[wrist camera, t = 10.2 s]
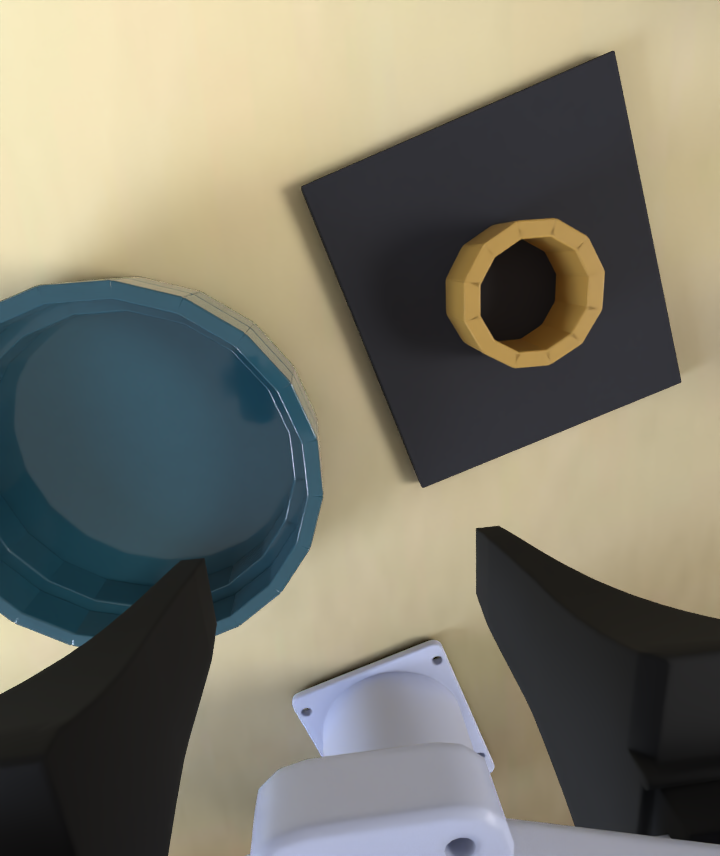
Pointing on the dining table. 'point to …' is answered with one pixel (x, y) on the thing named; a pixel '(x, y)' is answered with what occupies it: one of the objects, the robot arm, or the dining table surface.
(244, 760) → the dining table surface
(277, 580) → the bowl
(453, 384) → the coaster
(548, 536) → the dining table surface
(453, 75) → the dining table surface
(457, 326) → the napkin ring
